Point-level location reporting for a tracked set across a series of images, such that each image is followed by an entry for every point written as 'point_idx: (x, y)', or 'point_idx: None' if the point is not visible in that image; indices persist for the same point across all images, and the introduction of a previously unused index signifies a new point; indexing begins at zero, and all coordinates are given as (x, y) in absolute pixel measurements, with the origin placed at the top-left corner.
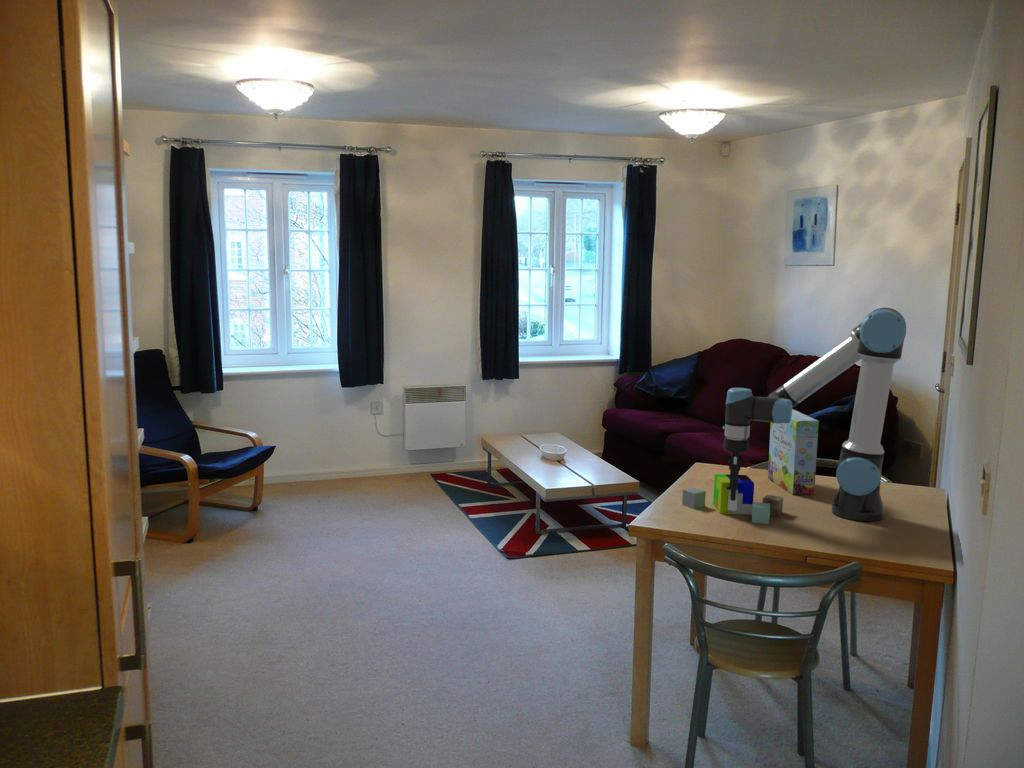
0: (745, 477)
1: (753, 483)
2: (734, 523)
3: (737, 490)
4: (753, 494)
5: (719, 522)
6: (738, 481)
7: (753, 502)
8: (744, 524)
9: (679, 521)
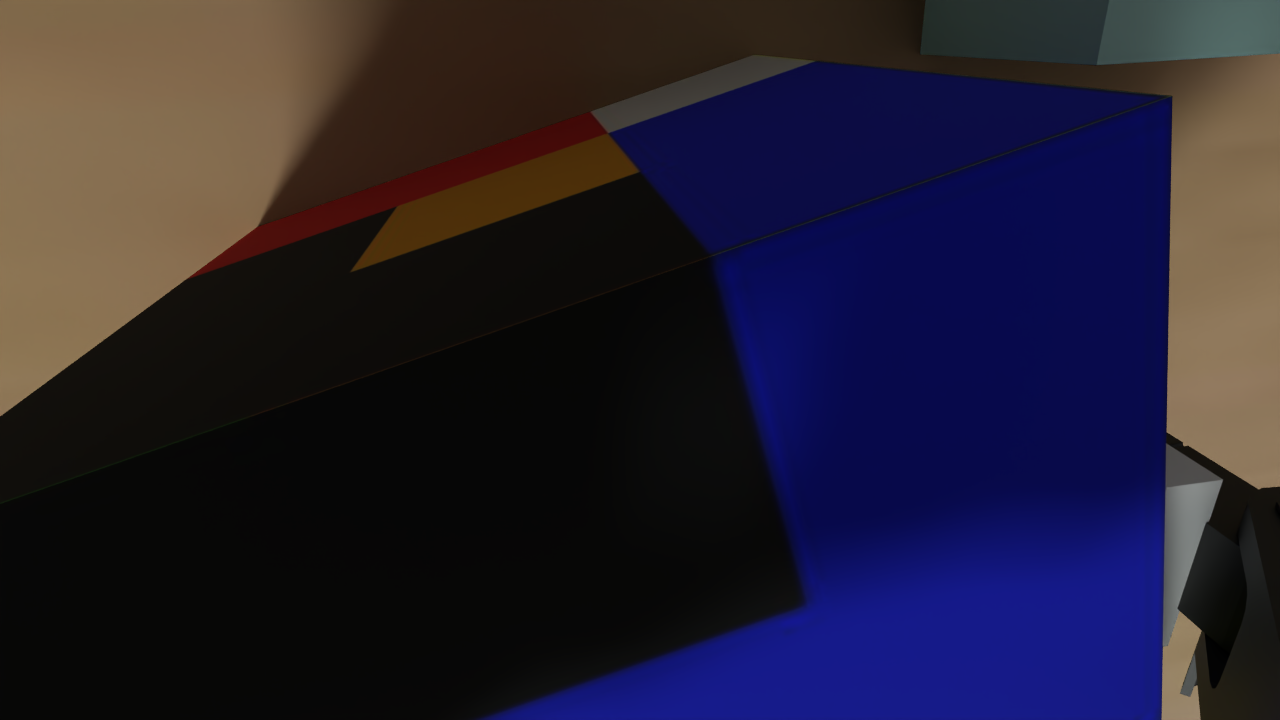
0: (307, 536)
1: (1167, 132)
2: (1208, 261)
3: (1216, 483)
4: (913, 75)
5: (1178, 419)
6: (1001, 631)
7: (1133, 45)
8: (1244, 135)
9: (1169, 713)
